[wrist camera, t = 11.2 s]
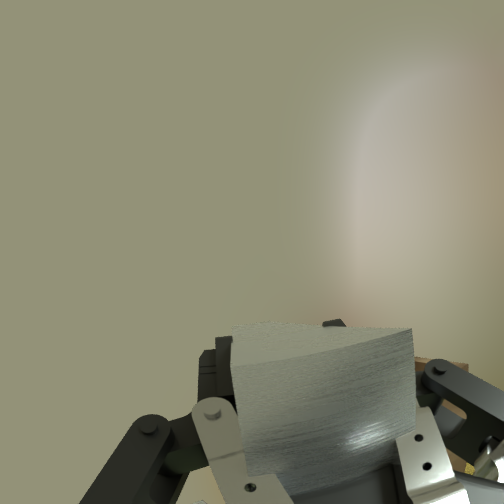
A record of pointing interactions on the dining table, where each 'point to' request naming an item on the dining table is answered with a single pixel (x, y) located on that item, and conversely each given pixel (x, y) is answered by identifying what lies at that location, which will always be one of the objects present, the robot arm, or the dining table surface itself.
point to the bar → (321, 400)
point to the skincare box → (200, 502)
